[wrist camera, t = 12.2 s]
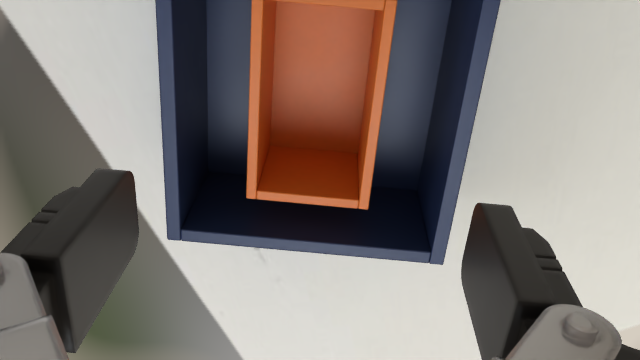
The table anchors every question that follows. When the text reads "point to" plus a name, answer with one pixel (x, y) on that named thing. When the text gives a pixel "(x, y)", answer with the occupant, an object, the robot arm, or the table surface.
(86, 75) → the table surface
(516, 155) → the table surface
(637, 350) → the robot arm
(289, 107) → the small bin
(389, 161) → the tote
